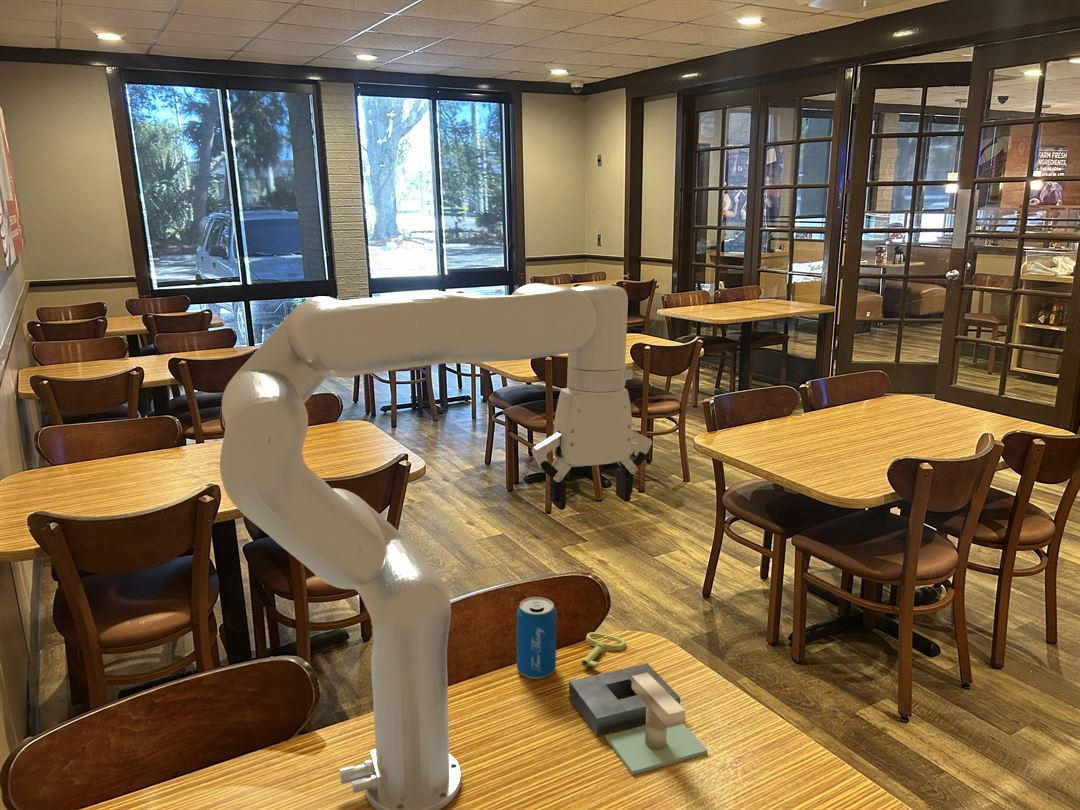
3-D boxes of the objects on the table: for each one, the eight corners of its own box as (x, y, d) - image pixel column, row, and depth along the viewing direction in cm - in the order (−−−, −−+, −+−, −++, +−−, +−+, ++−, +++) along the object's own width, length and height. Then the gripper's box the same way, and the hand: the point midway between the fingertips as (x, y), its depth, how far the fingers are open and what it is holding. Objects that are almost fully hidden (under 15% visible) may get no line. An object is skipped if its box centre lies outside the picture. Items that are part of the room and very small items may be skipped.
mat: (632, 775, 104) (632, 771, 104) (605, 739, 111) (605, 735, 111) (707, 753, 108) (707, 749, 108) (677, 720, 116) (677, 716, 116)
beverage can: (517, 681, 125) (517, 615, 122) (516, 660, 131) (516, 595, 129) (556, 681, 125) (557, 614, 123) (554, 659, 132) (555, 595, 129)
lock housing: (596, 736, 112) (597, 718, 111) (568, 698, 121) (569, 681, 120) (679, 715, 117) (680, 697, 116) (646, 679, 126) (647, 663, 125)
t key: (629, 725, 114) (630, 676, 112) (646, 720, 115) (648, 672, 113) (665, 767, 105) (667, 714, 103) (683, 761, 106) (686, 709, 104)
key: (580, 673, 128) (581, 661, 128) (586, 635, 140) (587, 625, 140) (623, 677, 127) (624, 666, 127) (626, 639, 139) (627, 628, 139)
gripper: (640, 371, 107) (634, 487, 111) (524, 378, 101) (522, 500, 105) (667, 381, 101) (660, 505, 104) (545, 389, 94) (542, 519, 98)
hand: (591, 502), depth 105 cm, fingers open, 9 cm apart
